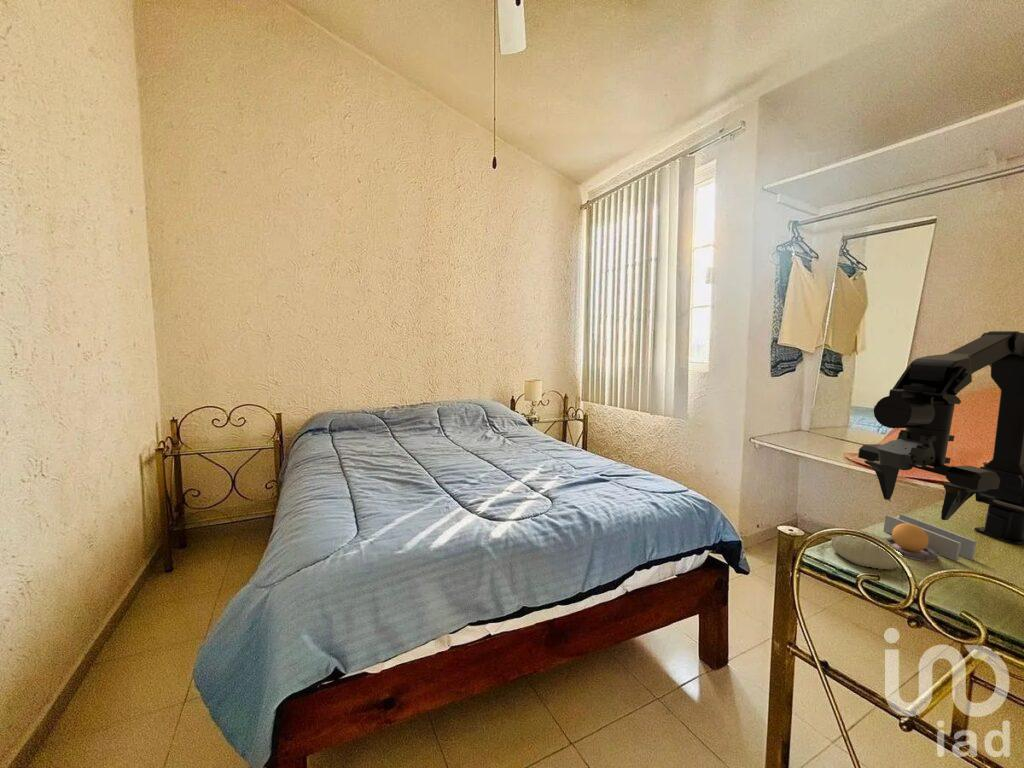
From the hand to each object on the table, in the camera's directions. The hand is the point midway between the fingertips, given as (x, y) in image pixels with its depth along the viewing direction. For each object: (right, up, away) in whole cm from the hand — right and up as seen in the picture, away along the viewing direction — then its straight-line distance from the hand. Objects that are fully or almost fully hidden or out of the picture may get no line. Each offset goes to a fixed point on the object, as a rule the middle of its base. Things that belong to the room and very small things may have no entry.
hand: (914, 509), depth 78 cm
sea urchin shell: (-12, -8, -3) cm, 15 cm away
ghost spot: (0, -8, +1) cm, 8 cm away
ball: (0, -6, +1) cm, 6 cm away
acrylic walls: (+6, -8, +4) cm, 11 cm away
